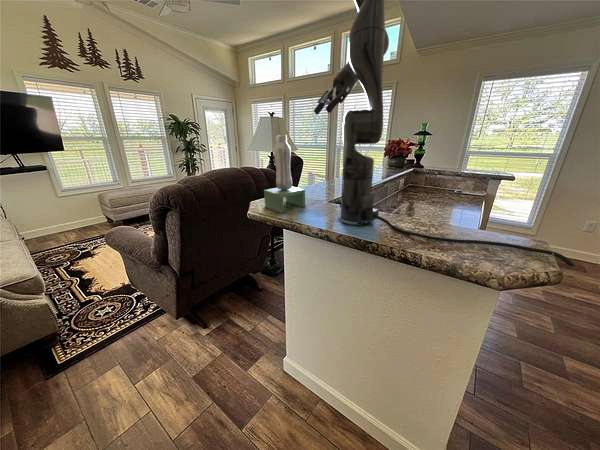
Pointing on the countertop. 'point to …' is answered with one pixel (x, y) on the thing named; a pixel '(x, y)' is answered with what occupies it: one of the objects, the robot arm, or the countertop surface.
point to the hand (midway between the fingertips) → (321, 111)
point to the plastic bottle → (283, 163)
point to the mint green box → (276, 198)
